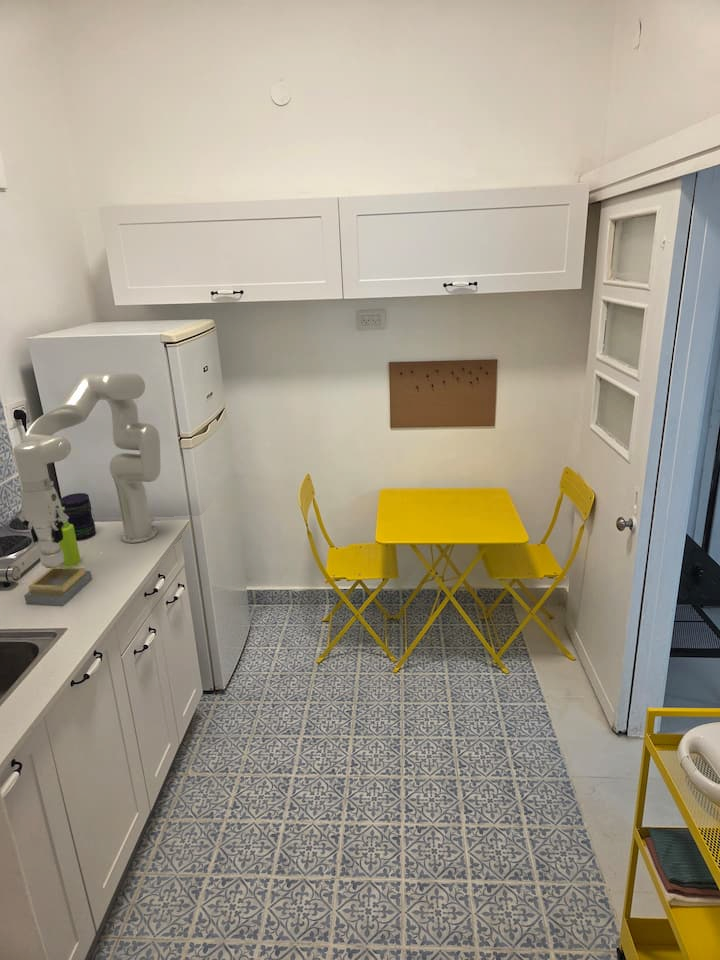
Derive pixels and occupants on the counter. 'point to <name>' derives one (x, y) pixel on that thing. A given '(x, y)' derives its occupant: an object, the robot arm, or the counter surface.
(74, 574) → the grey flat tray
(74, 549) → the soap dispenser
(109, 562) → the counter surface
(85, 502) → the storage jar
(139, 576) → the counter surface
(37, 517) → the robot arm
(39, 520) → the plastic bottle
